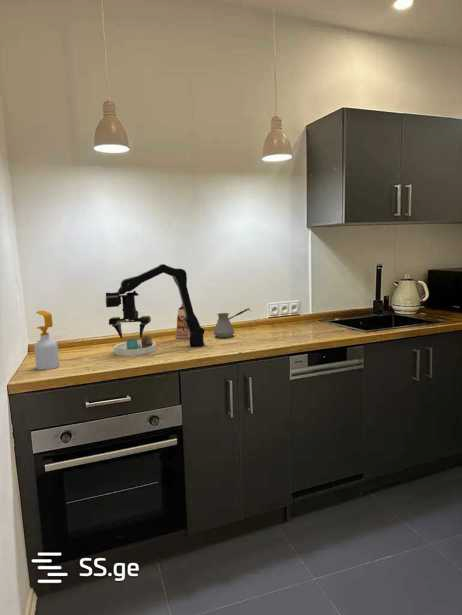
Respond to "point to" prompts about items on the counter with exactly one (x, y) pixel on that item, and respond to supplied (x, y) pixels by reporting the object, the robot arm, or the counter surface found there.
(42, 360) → the soap bottle
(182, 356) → the counter surface
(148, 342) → the walnut bead
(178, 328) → the red figurine
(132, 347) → the teal bead
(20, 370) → the counter surface
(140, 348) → the dish
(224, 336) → the coffee pot
